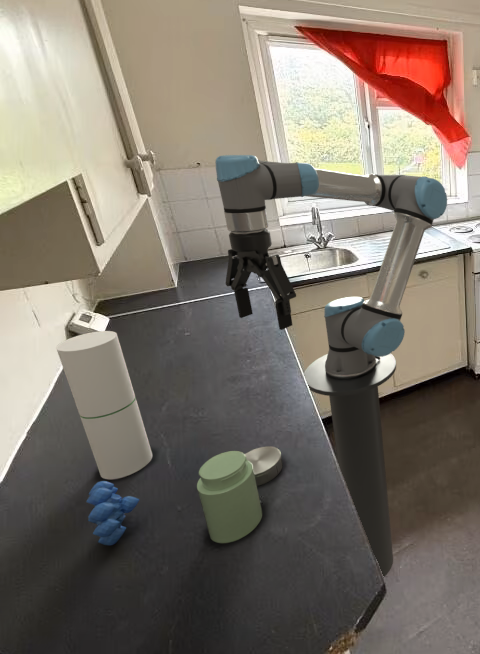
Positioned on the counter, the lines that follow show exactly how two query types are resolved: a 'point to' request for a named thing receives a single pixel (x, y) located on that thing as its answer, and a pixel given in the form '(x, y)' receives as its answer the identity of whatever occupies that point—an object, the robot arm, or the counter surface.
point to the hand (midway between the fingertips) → (265, 321)
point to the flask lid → (265, 463)
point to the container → (106, 402)
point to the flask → (229, 496)
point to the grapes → (109, 511)
